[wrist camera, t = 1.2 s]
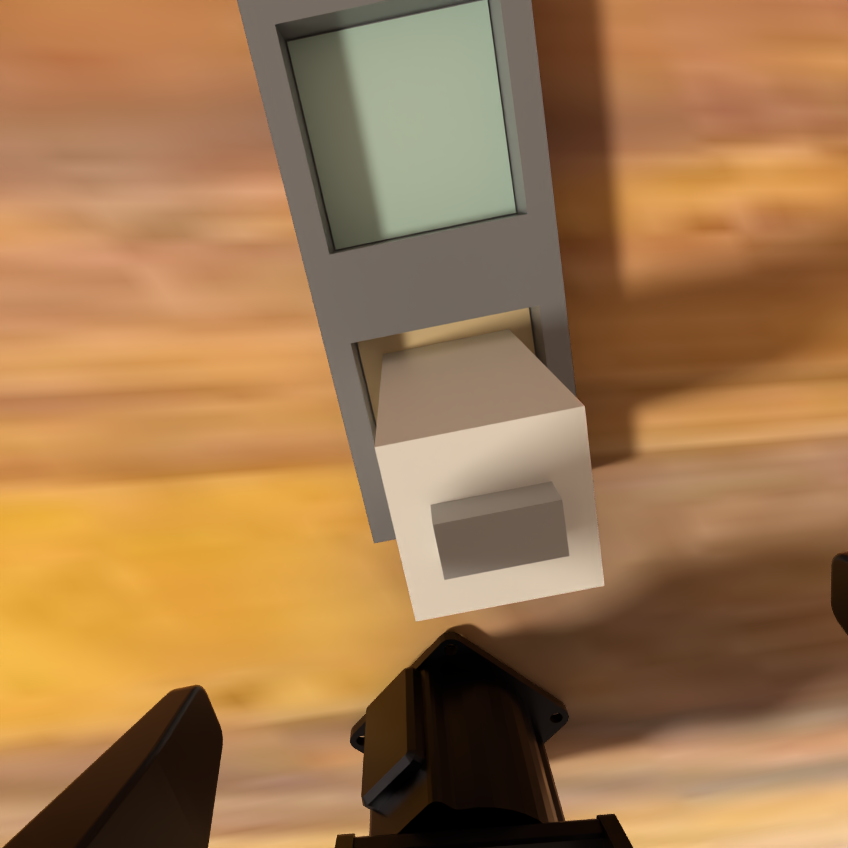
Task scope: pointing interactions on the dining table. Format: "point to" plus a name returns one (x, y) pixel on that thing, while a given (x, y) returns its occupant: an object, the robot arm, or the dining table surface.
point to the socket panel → (412, 185)
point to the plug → (485, 476)
